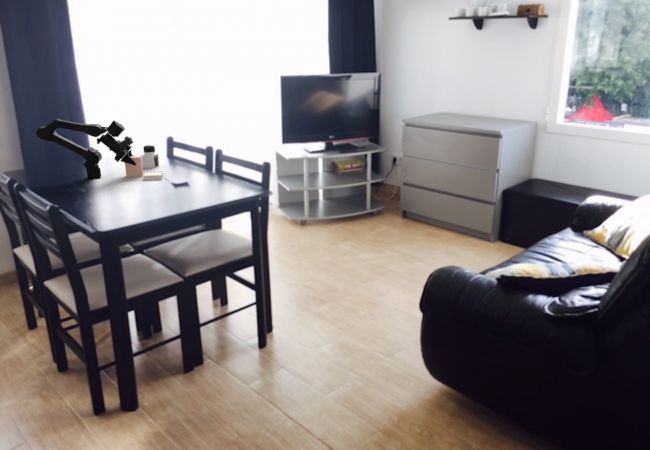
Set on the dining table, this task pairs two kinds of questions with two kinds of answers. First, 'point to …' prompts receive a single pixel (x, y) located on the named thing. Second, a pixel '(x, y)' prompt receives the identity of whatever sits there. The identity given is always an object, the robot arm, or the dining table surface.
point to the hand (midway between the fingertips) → (136, 163)
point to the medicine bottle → (150, 157)
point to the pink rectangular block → (134, 167)
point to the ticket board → (153, 175)
